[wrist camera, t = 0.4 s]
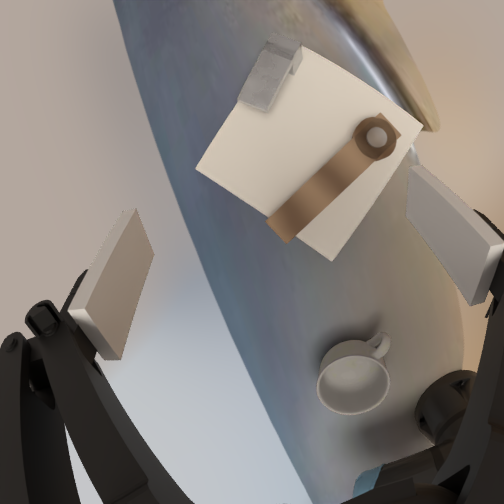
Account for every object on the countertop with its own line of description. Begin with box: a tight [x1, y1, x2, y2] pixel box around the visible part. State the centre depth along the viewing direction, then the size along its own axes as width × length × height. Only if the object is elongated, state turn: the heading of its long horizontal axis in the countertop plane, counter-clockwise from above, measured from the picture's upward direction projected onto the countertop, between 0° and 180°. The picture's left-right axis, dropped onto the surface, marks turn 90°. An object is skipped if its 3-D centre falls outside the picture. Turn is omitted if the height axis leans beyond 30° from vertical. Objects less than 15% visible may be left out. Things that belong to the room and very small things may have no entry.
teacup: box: [316, 332, 391, 415], centre depth 44 cm, size 14×11×8 cm
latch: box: [265, 112, 401, 244], centre depth 39 cm, size 21×6×4 cm, turn 135°
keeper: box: [237, 32, 303, 113], centre depth 38 cm, size 4×10×7 cm, turn 155°
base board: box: [195, 46, 423, 261], centre depth 42 cm, size 24×24×2 cm
